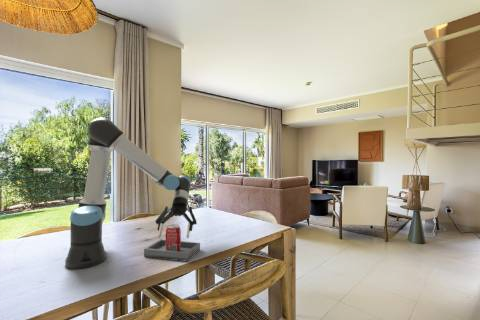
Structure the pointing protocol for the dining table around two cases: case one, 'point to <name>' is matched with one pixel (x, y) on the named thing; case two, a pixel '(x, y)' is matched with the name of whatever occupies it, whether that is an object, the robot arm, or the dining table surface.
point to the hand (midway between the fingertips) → (173, 236)
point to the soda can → (173, 238)
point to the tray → (183, 254)
